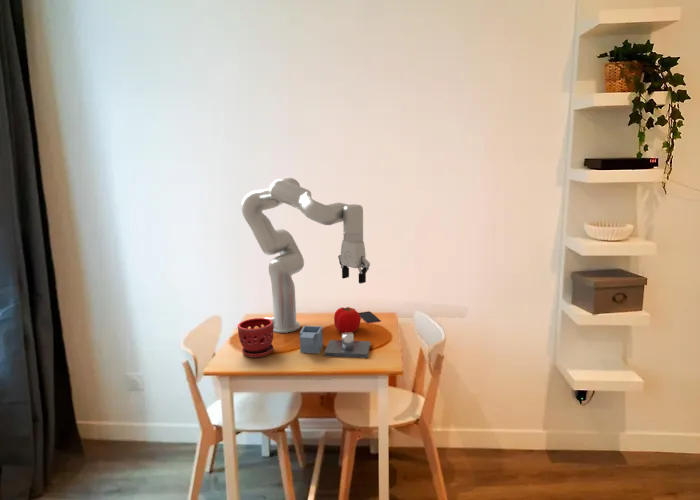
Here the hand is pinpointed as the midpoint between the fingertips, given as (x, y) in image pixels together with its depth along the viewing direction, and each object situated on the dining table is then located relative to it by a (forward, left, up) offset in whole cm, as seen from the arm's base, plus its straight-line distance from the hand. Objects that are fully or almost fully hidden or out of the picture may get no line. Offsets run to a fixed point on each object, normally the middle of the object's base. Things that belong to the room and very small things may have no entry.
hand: (353, 280), depth 199 cm
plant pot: (-35, -16, -25) cm, 46 cm away
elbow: (-15, -13, -25) cm, 32 cm away
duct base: (-1, -11, -25) cm, 27 cm away
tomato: (-4, +9, -25) cm, 27 cm away
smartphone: (+3, +26, -25) cm, 36 cm away
